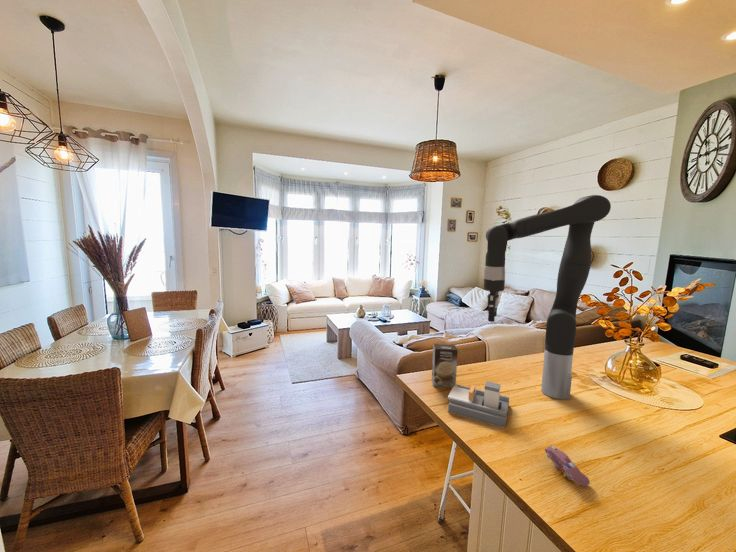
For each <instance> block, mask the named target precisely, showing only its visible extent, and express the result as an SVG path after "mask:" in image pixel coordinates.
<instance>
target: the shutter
mask: <svg viewBox="0 0 736 552" xmlns="http://www.w3.org/2000/svg"><path fill="white" fill-rule="evenodd" d="M475 389H476V385H475V384H471V386H470V390H468V389H464V388H460V387H457V385H456V386H454V387H451V390H450V392H449V394H448V395H447V400H450V397H451V398H455V399H459V400H463V401H466V402H470V403H472V401H473V399H474V396H475V394H476V391H475Z"/></svg>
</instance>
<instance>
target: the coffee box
mask: <svg viewBox="0 0 736 552" xmlns="http://www.w3.org/2000/svg"><path fill="white" fill-rule="evenodd" d="M432 346H433V347H432V361H431V362H432V365H431V383H432V386H433V387H439V388H440V387H441V388H453V387H454V386H456V387H457V384H456V383H457V368H458V367H457V366H458V354H459V353H458V350H459V349H458V348H457V346H456V345H455V344H446V343H445V344H444V343H433V345H432Z"/></svg>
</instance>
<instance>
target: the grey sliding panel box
mask: <svg viewBox="0 0 736 552" xmlns="http://www.w3.org/2000/svg"><path fill="white" fill-rule="evenodd" d="M456 387H460V388H464V389H468V390H470V388H471V386H465V385H462V384H456ZM475 391H476V394H475V396H474V399H473V401H472V403H470V402H466V401H463V400H459V399H455V398H451V397H450V399H449V402H448V410H447V412H448V413H450V414H454V415H456V416H460V417H464V418H467V419H471V420H474V421H478V422H480V423H484V424H489V425H491V426H496V427H498V428H502V429H506V423H507V418H508V411H509V407H510V396H507V395H502V394H500V398H499V410H497V409H493V408H489V407H485V406H484V390H482V389H478V388H475Z"/></svg>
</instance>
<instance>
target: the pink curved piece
mask: <svg viewBox="0 0 736 552" xmlns="http://www.w3.org/2000/svg"><path fill="white" fill-rule="evenodd" d="M544 452H545V453H546V454H545V456H546V458H547V459H550V460H551V461H552V463H553V464H554V466H555V468H557V470H559V471H560V470H561V472H562V473H563V476H564V477H565V478H566V477H567V478H568V479H567V478H566V479H567V480H569V481H570V480H571V481H574V482H575V483H577V484H578V485H580V486H583V487H588V486H589V485H590V479H589V478H588V477H587V475H585V474H584V473H583V472H581V470H580V469H579V468H578V467H577V465H576V464H575V463H574V462H573V461H572V460H571V458H570V457H569V456H568V454H567V453H565V452H564V451H562V450H561V449H558V448H557V447H556V446H555V445H552V446H548V447H547V446H546V447H545V448H544Z"/></svg>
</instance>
